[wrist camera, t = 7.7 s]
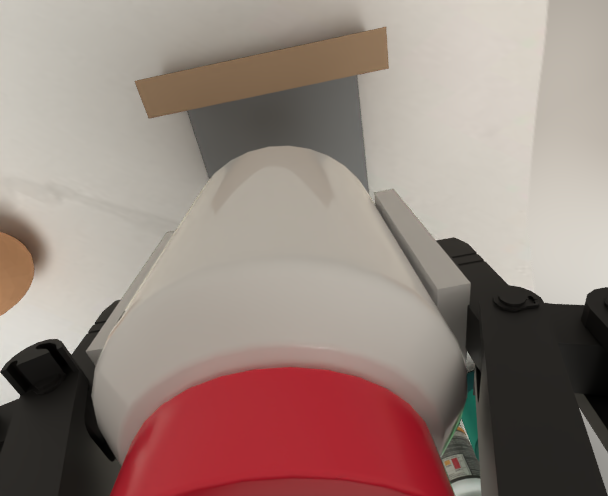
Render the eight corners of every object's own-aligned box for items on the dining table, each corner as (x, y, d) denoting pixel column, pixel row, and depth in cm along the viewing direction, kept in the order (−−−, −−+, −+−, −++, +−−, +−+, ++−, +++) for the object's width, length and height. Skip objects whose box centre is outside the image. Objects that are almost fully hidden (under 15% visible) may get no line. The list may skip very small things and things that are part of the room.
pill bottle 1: (411, 242, 15) (636, 570, 5) (281, 336, 17) (276, 688, 8) (290, 97, 12) (311, 255, 2) (152, 234, 14) (-125, 598, 5)
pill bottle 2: (412, 428, 43) (444, 521, 35) (457, 413, 42) (501, 505, 34) (424, 451, 46) (457, 543, 37) (467, 438, 45) (511, 529, 36)
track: (247, 322, 34) (241, 361, 30) (162, 76, 24) (134, 81, 19) (389, 297, 33) (404, 333, 29) (366, 32, 23) (386, 27, 19)
